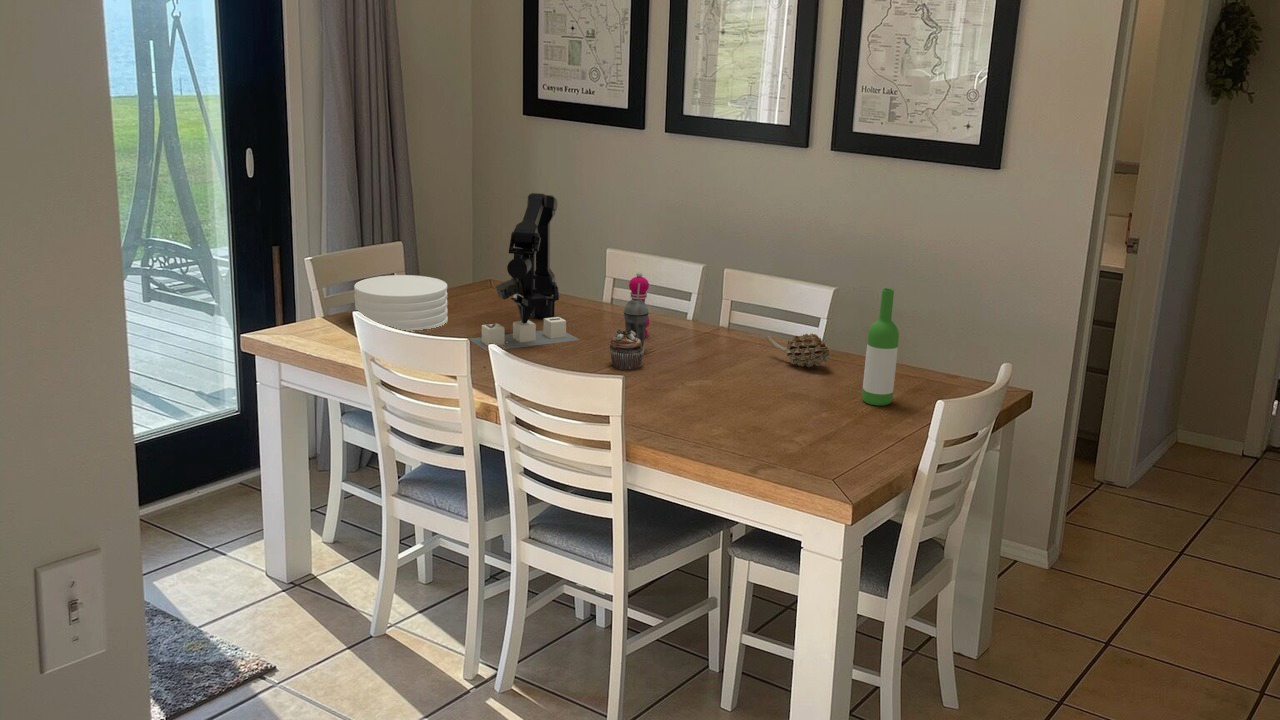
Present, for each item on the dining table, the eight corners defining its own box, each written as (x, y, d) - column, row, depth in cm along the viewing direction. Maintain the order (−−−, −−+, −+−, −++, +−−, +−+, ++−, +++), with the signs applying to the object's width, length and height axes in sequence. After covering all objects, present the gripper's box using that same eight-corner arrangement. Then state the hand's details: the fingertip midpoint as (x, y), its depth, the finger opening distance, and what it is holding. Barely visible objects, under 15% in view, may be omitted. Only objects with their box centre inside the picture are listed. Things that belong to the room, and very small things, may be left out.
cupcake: (614, 371, 317) (615, 336, 314) (605, 361, 326) (606, 326, 323) (647, 369, 319) (649, 335, 316) (638, 359, 328) (639, 325, 325)
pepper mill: (649, 333, 355) (652, 270, 349) (647, 340, 348) (650, 275, 342) (626, 332, 356) (628, 268, 350) (623, 338, 349) (626, 273, 343)
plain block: (528, 336, 345) (528, 320, 343) (535, 340, 341) (535, 324, 339) (513, 338, 342) (513, 321, 341) (520, 342, 338) (520, 325, 337)
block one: (558, 332, 350) (558, 316, 348) (565, 336, 346) (566, 320, 344) (543, 334, 347) (543, 317, 346) (550, 338, 343) (551, 321, 342)
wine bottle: (887, 397, 304) (899, 286, 295) (895, 407, 296) (907, 293, 288) (858, 396, 304) (869, 285, 295) (865, 406, 296) (876, 292, 287)
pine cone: (836, 369, 327) (839, 335, 324) (818, 376, 320) (821, 341, 317) (771, 352, 340) (773, 320, 337) (752, 359, 333) (755, 325, 330)
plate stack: (438, 335, 345) (437, 297, 342) (345, 331, 345) (343, 293, 342) (454, 311, 372) (454, 277, 369) (368, 308, 372) (367, 273, 369)
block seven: (497, 339, 340) (497, 322, 338) (504, 344, 336) (504, 327, 334) (481, 341, 337) (481, 324, 336) (488, 346, 333) (488, 328, 332)
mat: (559, 330, 355) (559, 328, 355) (580, 341, 343) (580, 339, 343) (467, 340, 340) (467, 338, 340) (486, 353, 328) (486, 351, 328)
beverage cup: (617, 352, 334) (619, 284, 329) (629, 346, 341) (632, 280, 335) (639, 356, 331) (642, 288, 325) (651, 350, 337) (654, 283, 332)
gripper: (486, 266, 339) (486, 318, 344) (512, 280, 324) (512, 333, 328) (521, 264, 345) (520, 314, 349) (548, 277, 329) (547, 329, 334)
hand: (524, 323), depth 340 cm, fingers closed, pressing on plain block
